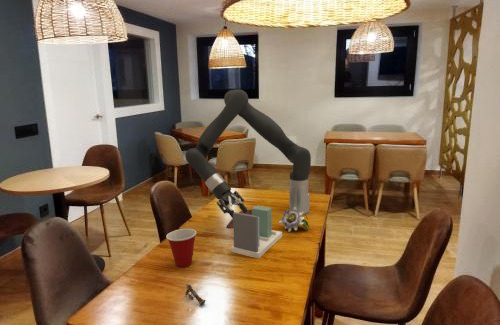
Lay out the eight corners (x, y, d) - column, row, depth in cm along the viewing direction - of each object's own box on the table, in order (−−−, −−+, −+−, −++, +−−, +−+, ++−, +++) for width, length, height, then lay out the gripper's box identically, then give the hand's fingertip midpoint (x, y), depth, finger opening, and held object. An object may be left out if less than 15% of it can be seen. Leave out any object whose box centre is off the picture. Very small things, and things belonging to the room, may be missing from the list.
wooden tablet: (241, 207, 188) (260, 206, 185) (242, 211, 188) (260, 210, 186) (224, 226, 163) (245, 226, 160) (225, 231, 164) (246, 231, 161)
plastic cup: (181, 254, 139) (180, 225, 137) (204, 260, 134) (202, 230, 131) (161, 266, 130) (159, 235, 128) (184, 274, 125) (182, 241, 122)
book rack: (257, 231, 159) (256, 196, 156) (282, 236, 154) (282, 200, 150) (231, 251, 141) (230, 213, 137) (258, 258, 135) (258, 218, 131)
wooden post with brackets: (186, 291, 113) (189, 281, 111) (202, 309, 109) (205, 299, 107) (181, 293, 112) (184, 283, 110) (197, 312, 108) (201, 302, 106)
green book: (256, 232, 154) (256, 205, 151) (271, 235, 150) (271, 207, 148) (252, 235, 150) (251, 208, 148) (267, 238, 147) (267, 211, 144)
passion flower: (289, 242, 160) (273, 222, 159) (295, 229, 169) (280, 209, 168) (310, 233, 154) (293, 211, 153) (315, 220, 164) (299, 199, 162)
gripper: (213, 184, 148) (238, 215, 145) (231, 176, 160) (254, 205, 157) (203, 195, 151) (227, 225, 149) (221, 186, 164) (244, 214, 161)
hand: (241, 215), depth 153 cm, fingers open, 8 cm apart
